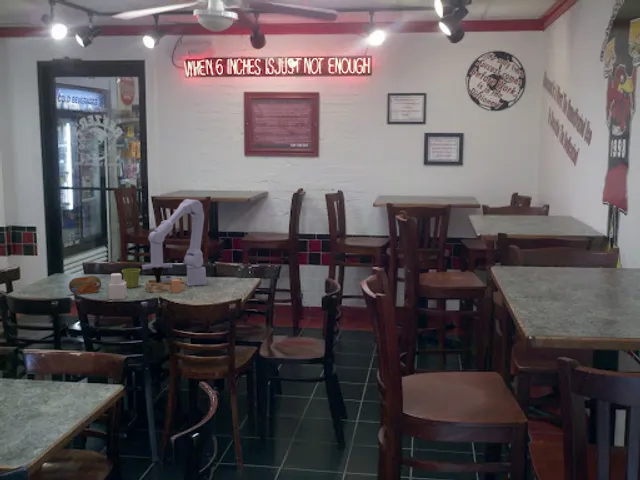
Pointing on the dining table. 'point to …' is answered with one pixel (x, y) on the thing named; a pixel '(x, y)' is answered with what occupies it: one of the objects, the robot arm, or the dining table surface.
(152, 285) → the puzzle board
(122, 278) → the medicine bottle
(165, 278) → the slate cover
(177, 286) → the terracotta block
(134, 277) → the plant pot
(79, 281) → the tin
